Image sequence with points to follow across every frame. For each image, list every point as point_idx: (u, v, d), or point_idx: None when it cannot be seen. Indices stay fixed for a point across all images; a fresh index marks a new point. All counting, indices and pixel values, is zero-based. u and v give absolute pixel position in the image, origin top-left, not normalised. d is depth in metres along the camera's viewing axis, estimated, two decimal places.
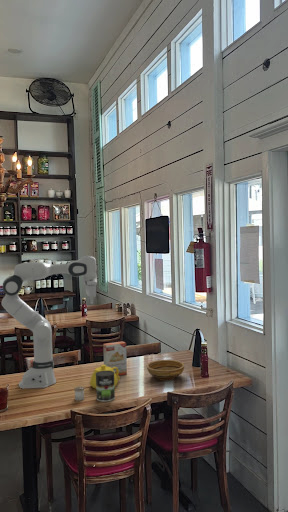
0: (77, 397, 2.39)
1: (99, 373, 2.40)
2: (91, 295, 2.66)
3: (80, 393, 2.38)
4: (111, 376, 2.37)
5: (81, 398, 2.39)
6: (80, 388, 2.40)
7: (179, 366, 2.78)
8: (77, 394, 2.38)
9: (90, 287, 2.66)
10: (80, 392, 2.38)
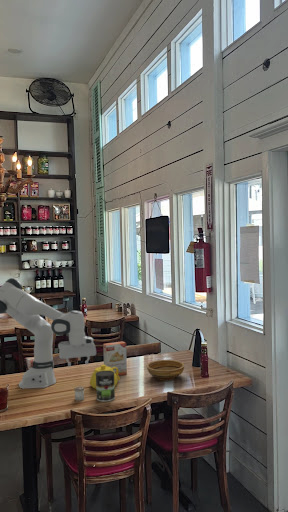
0: (77, 397, 2.39)
1: (99, 373, 2.40)
2: None
3: (80, 393, 2.38)
4: (111, 376, 2.37)
5: (81, 398, 2.39)
6: (80, 388, 2.40)
7: (179, 366, 2.78)
8: (77, 394, 2.38)
9: None
10: (80, 392, 2.38)
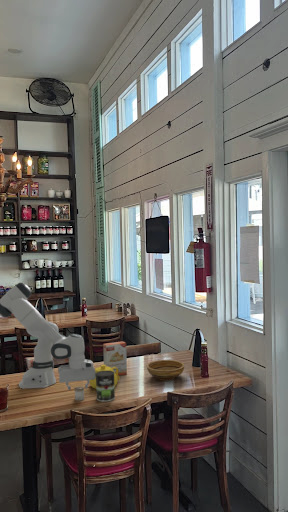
0: (77, 397, 2.39)
1: (99, 373, 2.40)
2: (95, 376, 2.41)
3: (80, 393, 2.38)
4: (111, 376, 2.37)
5: (81, 398, 2.39)
6: (80, 388, 2.40)
7: (179, 366, 2.78)
8: (77, 394, 2.38)
9: (94, 368, 2.41)
10: (80, 392, 2.38)
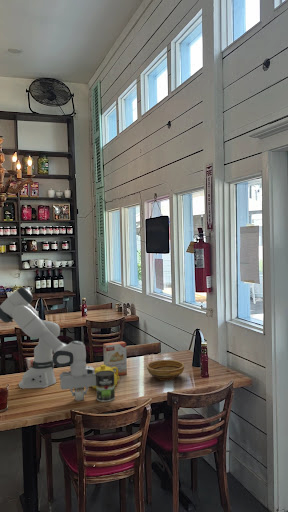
0: (77, 397, 2.39)
1: (99, 373, 2.40)
2: None
3: (80, 393, 2.38)
4: (111, 376, 2.37)
5: (81, 398, 2.39)
6: (80, 388, 2.40)
7: (179, 366, 2.78)
8: (77, 394, 2.38)
9: (95, 374, 2.42)
10: (80, 392, 2.38)
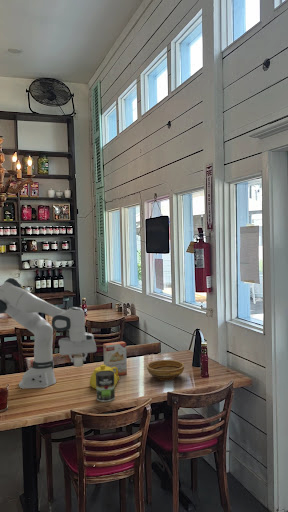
0: (76, 363, 2.38)
1: (99, 373, 2.40)
2: (96, 349, 2.42)
3: (79, 359, 2.38)
4: (111, 376, 2.37)
5: (80, 364, 2.38)
6: (79, 354, 2.40)
7: (179, 366, 2.78)
8: (76, 360, 2.38)
9: (94, 340, 2.41)
10: (79, 358, 2.38)
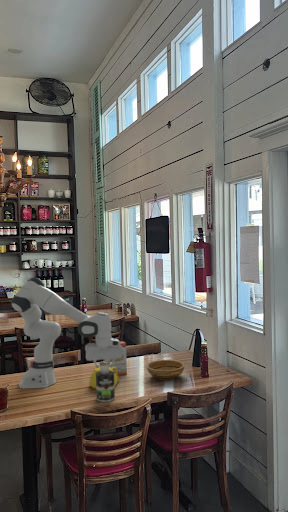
0: (102, 371, 2.38)
1: (99, 373, 2.40)
2: None
3: (105, 367, 2.37)
4: (111, 376, 2.37)
5: (106, 372, 2.38)
6: (105, 362, 2.39)
7: (179, 366, 2.78)
8: (102, 368, 2.37)
9: (120, 346, 2.41)
10: (105, 366, 2.37)
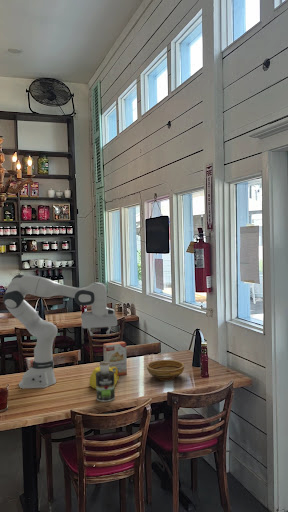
0: (102, 371, 2.38)
1: (99, 373, 2.40)
2: None
3: (105, 367, 2.37)
4: (111, 376, 2.37)
5: (106, 372, 2.38)
6: (105, 362, 2.39)
7: (179, 366, 2.78)
8: (102, 368, 2.37)
9: (115, 315, 2.49)
10: (105, 366, 2.37)
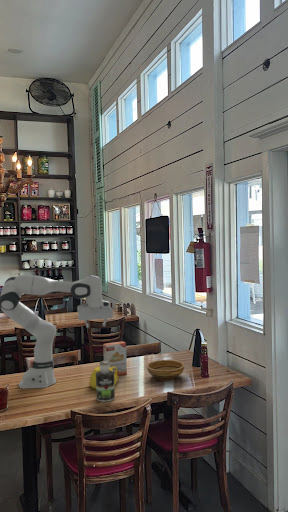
0: (102, 371, 2.38)
1: (99, 373, 2.40)
2: (112, 315, 2.55)
3: (105, 367, 2.37)
4: (111, 376, 2.37)
5: (106, 372, 2.38)
6: (105, 362, 2.39)
7: (179, 366, 2.78)
8: (102, 368, 2.38)
9: None
10: (105, 366, 2.37)
